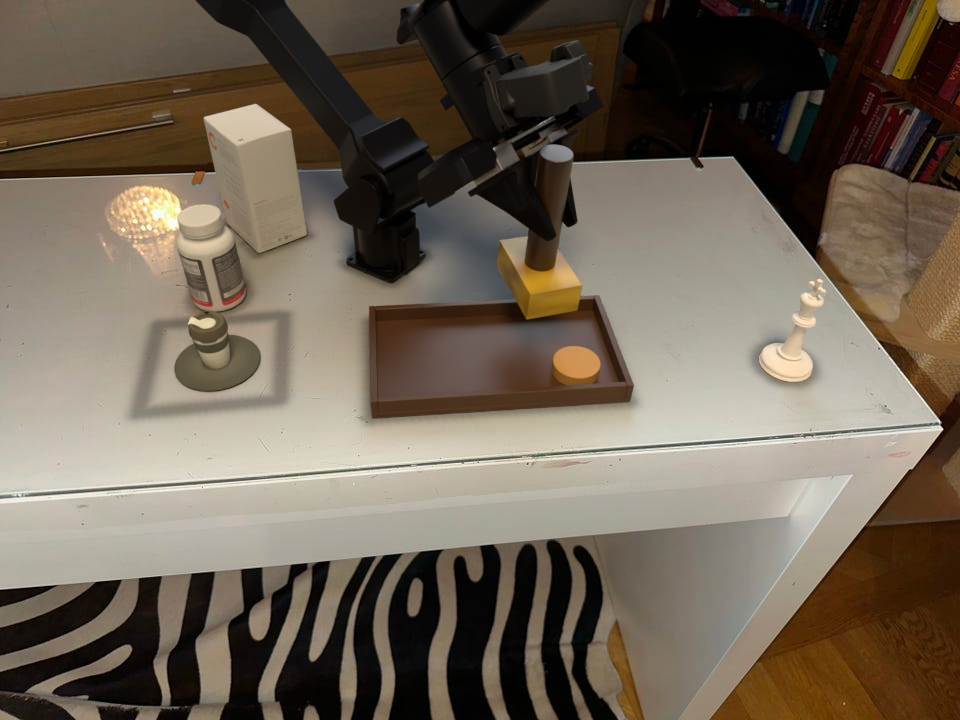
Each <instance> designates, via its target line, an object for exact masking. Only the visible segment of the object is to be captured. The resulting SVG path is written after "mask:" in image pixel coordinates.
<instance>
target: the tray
mask: <svg viewBox="0 0 960 720" xmlns="http://www.w3.org/2000/svg"><path fill="white" fill-rule="evenodd" d="M368 327H369V328H368V329H369V331H368V333H369V389H370V390H369V391H370V392H369V393H370V397H369V398H370V410H371V418H372V419H384V418H387V419H388V418H401V417H415V416H416V417H417V416H432V415H446V414H447V415H449V414H461V413H462V414H463V413H478V412H493V411H495V412H496V411H507V410H508V411H511V410H524V409H525V410H527V409H541V408H552V407H553V408H555V407H556V408H557V407H570V406H587V405H602V404H616V403H617V404H618V403H620V404H621V403H630V402H631V400H632V397H633V392H634V389H635V384H634V382H633V379H632V376H631V374H630V372H629V369H628V365H627V363H626V361H625V357H624V355H623V353H622V351H621V348H620V345H619V343H618V340H617V337H616V336H615V333H614V330H613V327H612V325H611V322H610V320H609V317H608V314H607V312H606V308H605V306H604V304H603V300H602V299H601V296H600V294H593V295H580V300H579V305H578V309H577V311H572V312H566V313H561V314H555V315H550V316H544V317H539V318H533V319H528V320H527V319H526V318H525V316H524V314H523V312H522V311H521V309H520V307H519V305H518V303H517V301H516V300H515V298H512V299H494V300H493V299H492V300H491V299H489V300H488V299H487V300H471V301H469V300H468V301H467V300H466V301H449V302H428V303H408V304H387V305H369V306H368ZM568 346H579V347H584V348H587V349H589V350H591V351H592V352H594V353H595V354H596V355H597V356H598V358H599V359H600V363H601V366H600V372H599V376H598V379H597V380H596V381H595V382H594V383H593V384H580V385H564V384H562V383H561V382H559V381H558V380H557V379H556V378H555V377H554V375H553V373H552V362H553V357H554V355H555V353H556V352H557V351H558V350H560V349H562V348H564V347H568Z"/></svg>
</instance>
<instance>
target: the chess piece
mask: <svg viewBox="0 0 960 720" xmlns="http://www.w3.org/2000/svg"><path fill="white" fill-rule="evenodd" d="M824 282H825V281H824V280H823V279H821V278H818V279H816V280H815V281H814V280H811V281H808V283H807V286H806V287H808V288H809V289H811V291H805V292H802V293H801V294H800V297H799V305H800V308H799V309H800V310H798V311H795V312H794V313H793V314H792V315H791V321H792V323H794V326H793V328H792V330H791V332H790V334H789V335H788V337H787V338H786V340H785V342H774V343H773V342H772V343H770V344H767V345H766V346H764V348H763V349H762V350H761V352H760V354H759V356H758V362H759V365H760V367H761V368H762V369H763V371H765V372H766V373H767V374H768V375H770V376H771V377H773V378H775V379H777V380H780V381H784V382H789V383H798V382H803V381H806V380H807V379H809V377H811V375H812V372H813V368H814V362H813V359H812V358H811V356H810V355H809V354H808V353H807V352H806V351H805V350H804V349H802V346H803V342H804V338H805V335H806V331H807V329H810V328H813V327H815V326H816V325H817V319H816V317H815V316H814V315H815V314H816V313H817V312H818V310H819V309H821V308H822V307H823V306H824V304H825V300H824V297H825V296H826V294H827V292H828V291H827V290H826V289H825V288H823V285H824Z"/></svg>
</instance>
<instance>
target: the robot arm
mask: <svg viewBox="0 0 960 720" xmlns="http://www.w3.org/2000/svg"><path fill="white" fill-rule="evenodd" d="M194 1H195V2H196V3H197V4H198V5H199V6H200V7H201V8H202V9H203V10H204V11H205V12H206V13H207V14H208V15H209V16H210V17H211V18H212V19H213V20H214V21H215V22H216V23H218V24H220V25H222V26H224V27H227V28H228V29H230V30H233V31H235V32H237V33H240V34H241V35H243V36H246V37H247V38H248V39H249V40H250V41H251V42H252V43H253V45H254V46H255V48H257V50H258V51H259V52H260V53H261V54H262V56H263V57H264V58H265V59H266V61H267V62H268V63H269V64H270V66H271V67H272V68H273V70H274V71H275V72H276V73H277V74H278V76H279V77H280V78H281V79H282V81H283V82H284V83H285V84H286V86H287V87H288V88H289V89H290V91H291V92H292V93H293V94H294V95H295V97H296V98H297V99H298V101H299V102H300V103H301V105H302V106H303V107H304V108H305V109H306V111H307V112H308V113H309V114H310V116H311V117H312V118H313V119H314V121H315V122H316V123H317V125H318V126H319V127H320V128H321V129H322V131H323V132H324V133H325V134H326V135H327V137H328V138H329V139H330V140H331V142H332V143H333V144H334V146H335V147H336V148H337V150H338V154H339V155H338V156H339V162H340V169H341V175H342V180H343V181H344V184H345V185H346V186H347V188H346V189H345V190H343V192H341V193H340V194H339V195H338V196H337V197H336V198H334V199H333V205H334V209H335V211H336V214H337V217H338V219H339V221H341V222H343V223H345V224H347V225H349V226H351V227H352V232H353V243H354V244H353V245H354V252H353V253H352V254H350V255H349V256H348V257H346V258H345V263H346V265H348V266H350V267H353V268H355V269H358V270H359V271H362V272H364V273H367V274H369V275H371V276H373V277H377V278H379V279H380V280H383V281H385V282H387V283H395V282H396V281H397V280H398V279H399V278H401V277H402V276H403V275H404V274H405V273H407V272H408V271H410V270H411V269H412V268H413V267H415V266H416V265H417V264H418V263H419V262H420V261H422V260H423V259H424V258H425V257H426V255H427V254H426V253H427V252H426V250H424V249H423V248H420V247H421V244H420V243H421V240H420V239H421V238H420V229H419V227H417V212H415V211H413V210H415V209H416V208H417V207H419V206H422V205H426V206H427V207H428V209H430V208H432V207H434V206H436V205H438V204H440V203H441V202H443V201H445V200H446V199H448V198H450V197H452V196H453V195H455V194H456V192H457V191H459V190H460V189H462V188H464V187H465V186H467V185H468V184H470V183H472V182H474V184H475V187H473V188H471V189H470V190H468V191H467V194H468V196H469V197H470V198H472V197H474V196H478V197H480V198H482V199H483V200H485V201H486V202H488V203H490V204H491V205H493V206H495V207H497V208H498V209H500V210H502V211H503V212H505V213H506V214H508V215H509V216H511V217H512V218H513V219H515V220H516V221H517V222H518V223H520V224H522V225H523V226H524V227H526V228H527V229H528V230H529V229H530V230H531V231H533V232H534V233H535V234H537V235H538V236H540V237H541V238H542V239H544V240H545V241H547V242H549V241H551V240H553V239H555V238H556V237H557V234H556V232H555V229H554V226H553V224H552V221H551V219H550V217H549V215H548V213H547V211H546V209H545V207H544V205H543V203H542V201H541V199H540V197H539V195H538V193H537V191H536V189H535V179H536V172H537V164H538V157H539V151H540V149H541V148H542V147H544V146H546V145H552V144H555V145H562V146H565V147H567V148H569V149H570V150H571V151H572V147H573V143H574V141H575V138H576V137H577V136H578V135H579V133H580V127H577V128H575V129H572V128H574V127H576V126H577V125H579V124H580V123H582V122H583V121H585V120H587V119H588V118H590V117H592V116H593V115H595V114H596V113H598V112H600V111H601V110H603V109H605V105H604V103H603V101H602V99H601V97H600V95H599V93H598V91H597V89H596V87H594V86H591V85H588V84H587V83H588V82H589V81H591V79H592V77H593V75H594V74H595V72H596V67H595V65H594V64H593V63H592V61H591V57H590V56H589V54H588V53H587V51H586V50H585V48H584V47H583V45H582V43H581V42H580V40H579V39H577V40H571V41H568V42H563V43H562V44H559V45H557V46H555V47H553V48H552V49H551V52H550V58H549V60H546V61H544V62H542V63H540V64H539V63H538V64H535V65H531V66H530V65H529V64H528V62H527V60H526V58H525V57H524V55H523V54H522V53H519V51H518V50H517V51H514V52H512V53H510V54H507V52H506V50H505V48H504V46H503V45H502V43H501V41H500V40H499V39H500V38H499V37H501V36H508V35H509V34H511V33H512V32H513V31H515V30H516V29H517V28H518V27H519V26H521V25H522V24H523V23H524V22H525V21H526V20H529V18H530V17H532V16H533V15H534V14H535V13H536V12H538V10H540V9H541V8H542V7H544V6H545V5H546V4H547V3H548V2H549V1H550V0H423V1H422V2H421V3H415V4H411V5H408V6H405V7H401V8H400V10H399V14H400V15H399V16H400V20H399V23H398V28H396V29H397V30H396V39H395V40H396V43H397V44H398V45H400V46H402V45H405V44H408V43H411V42H413V41H416V40H417V41H418V43H419V44H420V46H421V48H422V50H423V52H424V54H425V55H426V57H427V59H428V61H429V62H430V65H431V67H432V68H433V70H434V71H435V74H436V75H437V77H438V79H439V81H440V83H441V84H442V85H443V88H444V90H445V92H446V94H445V95H444V96H442V97H441V98H440V99H439V102H440V104H441V105H442V107H443V109H444V111H445V112H447V111H449V110H452V109H454V108H455V109H456V111H457V113H458V115H459V117H460V119H461V120H462V122H463V124H464V126H465V128H466V130H467V131H468V133H469V135H470V138H471V139H470V140H468V141H467V142H465V143H462V144H461V145H459V146H457V147H454V148H452V149H451V150H448V151H447V152H445V153H444V154H443V155H441V156H440V157H439V158H438V159H436V160H434V158H433V157H432V155H431V153H430V152H429V149H430V145H429V144H428V143H426V142H425V141H423V140H422V138H420V136H419V135H418V134H417V133H416V131H415V130H414V128H413V126H412V125H411V123H410V122H409V121H408V120H407V119H405V118H404V117H402V116H399V117H397V118H395V119H393V120H391V121H387V120H384V119H382V118H380V117H378V116H377V115H376V114H375V113H374V112H373V110H371V108H370V107H369V106H368V104H367V103H366V102H365V101H364V99H363V98H362V97H361V96H360V94H359V93H358V92H357V90H356V89H355V88H354V87H353V85H351V83H350V82H349V80H348V79H347V78H346V77H345V75H343V73H342V72H341V70H340V69H339V68H338V66H337V65H336V64H335V63H334V62H333V60H332V59H331V58H330V57H329V56H328V54H327V53H326V52H325V50H323V48H322V47H321V46H320V45H319V43H318V42H317V41H316V39H315V38H314V37H313V36H312V34H311V33H310V32H309V30H308V29H307V28H306V27H305V25H304V24H303V23H302V22H301V20H300V19H299V18H298V17H297V16H296V13H294V12H293V10H292V9H291V8H290V7H289V5H288V3H287V2H286V0H194ZM498 36H499V37H498ZM571 129H572V130H571ZM569 130H571V131H569ZM567 131H569V132H567ZM520 132H521V133H520ZM502 139H503V142H500V143H499V141H501V140H502ZM519 151H521V153H522V154H523V156H524V158H521V159H520V157H519V156H518V153H517V152H519ZM577 223H579V222H578V213H577V209H576V201H575V196H574V191H573V185H572V178H571V176H570V181H569V187H568V193H567V199H566V205H565V210H564V216H563V222H562V224H564V226H565V227H567V228H571V227H574V226H575V225H576V224H577Z"/></svg>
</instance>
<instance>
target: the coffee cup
mask: <svg viewBox="0 0 960 720" xmlns="http://www.w3.org/2000/svg"><path fill="white" fill-rule="evenodd" d="M187 326H188V327H187V328H188V335H189V337H190V338H191V340H192V343H191V344H190V345H188V346H187V347H185V348H184V349H183V350H182V351H181V352H180V353H179V354H178V356H177V357H176V360H175V362H174V367H173V369H174V371H173V372H174V375H175V377H176V379H177V380H178V381H179V383H180V384H181V385H183V386H184V387H186V388H189V389H190V390H194V391H198V392H199V391H200V392H219V391H223V390H226V389H229V388H232V387H236V386H237V385H240V384H241V383H242V382H245V381H246V380H247V379H248V378H250V377H251V376H252V375H253V374H254V373H255V371H256V370H257V369H258V367H259V365H260V363H261V351H260V348H259V347H258V346H257V344H255V343H254V342H253V341H252V340H251V339H248V338H246V337H244V336H240V335H235V334H229V332H228V331H229V325H228V322H227V320H226V318H225V316H224V315H223V314H222V313H220V312H219V311H218V312H213V311H201V312H199V313H196V314H195V315H193V316H191V317H189V321H188V322H187Z"/></svg>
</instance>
